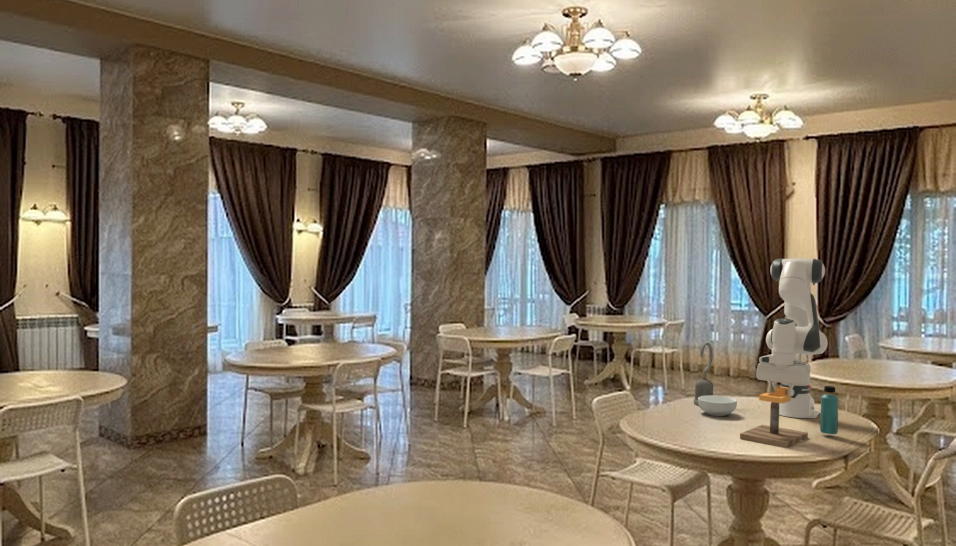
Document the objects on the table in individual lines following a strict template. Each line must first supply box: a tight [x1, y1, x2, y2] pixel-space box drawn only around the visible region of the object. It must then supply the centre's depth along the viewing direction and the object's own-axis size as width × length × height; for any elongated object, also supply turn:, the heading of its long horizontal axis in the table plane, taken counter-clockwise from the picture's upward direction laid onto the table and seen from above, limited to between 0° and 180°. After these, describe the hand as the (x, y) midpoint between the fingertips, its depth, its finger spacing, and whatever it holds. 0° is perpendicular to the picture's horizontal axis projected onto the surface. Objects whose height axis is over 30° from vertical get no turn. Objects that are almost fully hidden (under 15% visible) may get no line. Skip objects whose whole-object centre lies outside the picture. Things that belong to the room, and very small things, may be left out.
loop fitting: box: [758, 386, 791, 404], centre depth 284 cm, size 15×9×4 cm, turn 137°
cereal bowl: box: [697, 395, 738, 417], centre depth 324 cm, size 17×17×7 cm
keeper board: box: [739, 402, 809, 448], centre depth 282 cm, size 22×18×15 cm
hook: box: [693, 341, 714, 406], centre depth 346 cm, size 10×12×30 cm
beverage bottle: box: [819, 385, 839, 435], centre depth 287 cm, size 6×7×20 cm
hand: (782, 393), depth 287 cm, fingers closed on loop fitting, 3 cm apart
